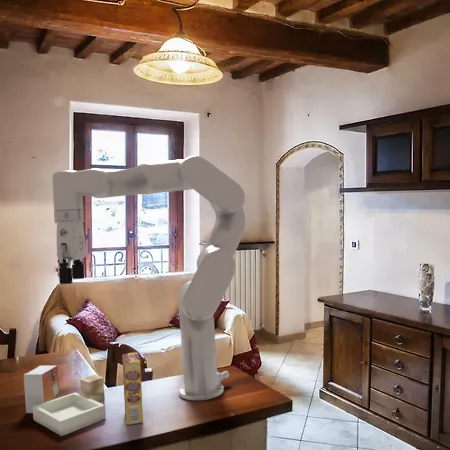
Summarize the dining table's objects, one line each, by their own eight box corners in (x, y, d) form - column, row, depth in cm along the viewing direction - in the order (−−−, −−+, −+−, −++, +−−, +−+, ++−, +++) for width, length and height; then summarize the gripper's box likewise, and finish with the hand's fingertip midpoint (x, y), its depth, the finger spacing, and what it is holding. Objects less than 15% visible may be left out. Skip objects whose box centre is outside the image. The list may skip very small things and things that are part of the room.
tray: (76, 404, 134) (75, 392, 134) (105, 418, 124) (104, 404, 123) (33, 420, 125) (32, 406, 125) (61, 436, 115) (60, 421, 115)
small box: (44, 414, 129) (41, 374, 129) (25, 413, 130) (22, 374, 130) (60, 402, 137) (57, 364, 137) (42, 401, 138) (39, 364, 138)
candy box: (144, 422, 120) (140, 361, 119) (126, 425, 118) (122, 363, 118) (141, 409, 128) (137, 351, 128) (125, 412, 127) (121, 353, 127)
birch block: (96, 399, 138) (94, 374, 137) (104, 402, 134) (103, 377, 134) (81, 404, 134) (80, 379, 134) (90, 408, 131) (88, 382, 131)
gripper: (72, 216, 122) (75, 285, 122) (92, 216, 139) (95, 276, 139) (42, 218, 122) (45, 286, 122) (66, 217, 139) (69, 277, 140)
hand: (72, 281), depth 131 cm, fingers open, 9 cm apart
